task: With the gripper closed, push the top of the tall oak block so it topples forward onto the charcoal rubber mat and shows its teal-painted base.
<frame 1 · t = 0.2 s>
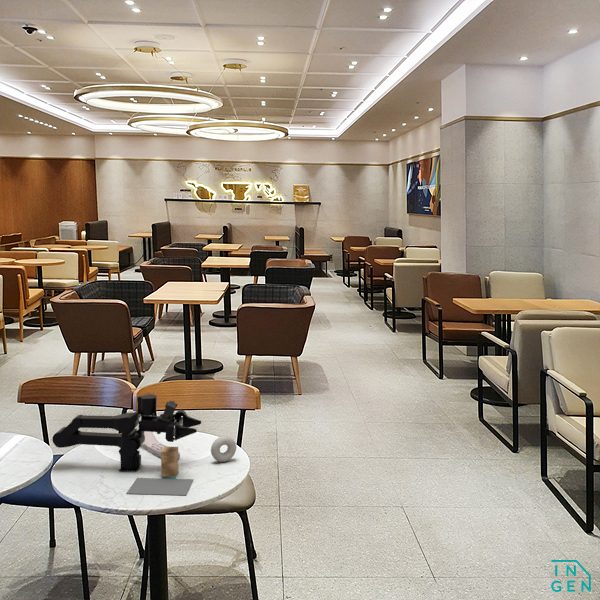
hand: (198, 426, 240), 16 cm above the table, tool horizontal, fingers open, 9 cm apart
oak block: (170, 476, 237), on the table
charcoal mat: (160, 486, 228), on the table
donut: (223, 462, 251), on the table
mobile phone: (160, 454, 259), on the table
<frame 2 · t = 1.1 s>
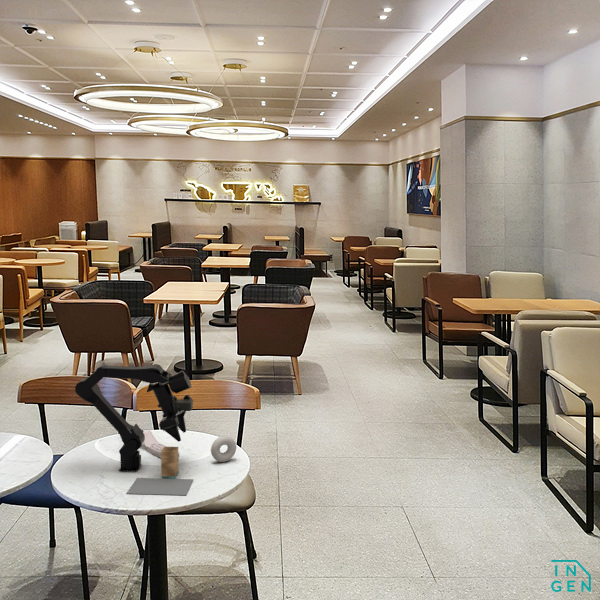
hand: (182, 436, 242), 12 cm above the table, tool tilted 25°, fingers open, 9 cm apart
nothing on the table moved.
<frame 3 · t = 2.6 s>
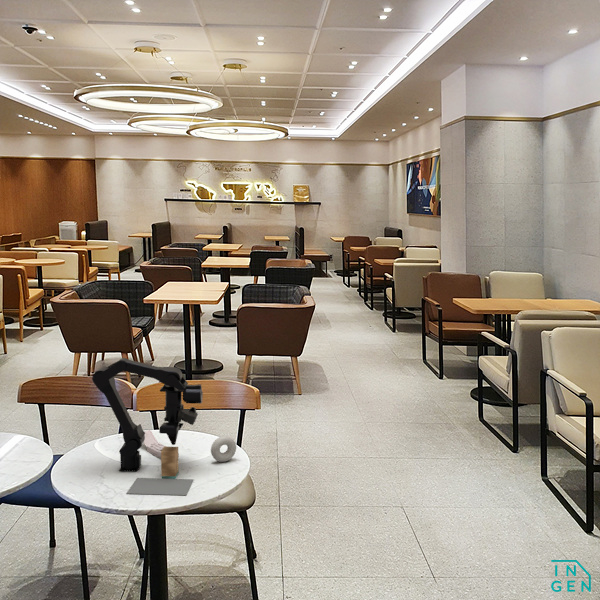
hand: (173, 444, 243), 9 cm above the table, tool pointing down, fingers closed
nothing on the table moved.
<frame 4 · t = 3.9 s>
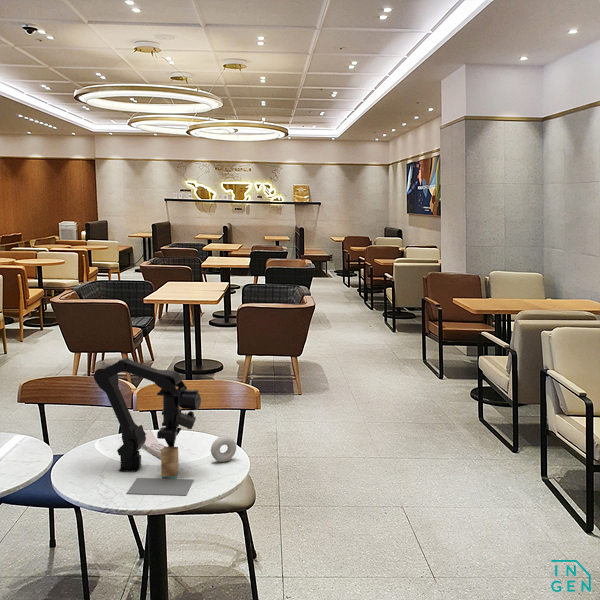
hand: (171, 449, 239), 9 cm above the table, tool pointing down, fingers closed
oak block: (170, 476, 237), on the table, touching gripper
everything else where it was.
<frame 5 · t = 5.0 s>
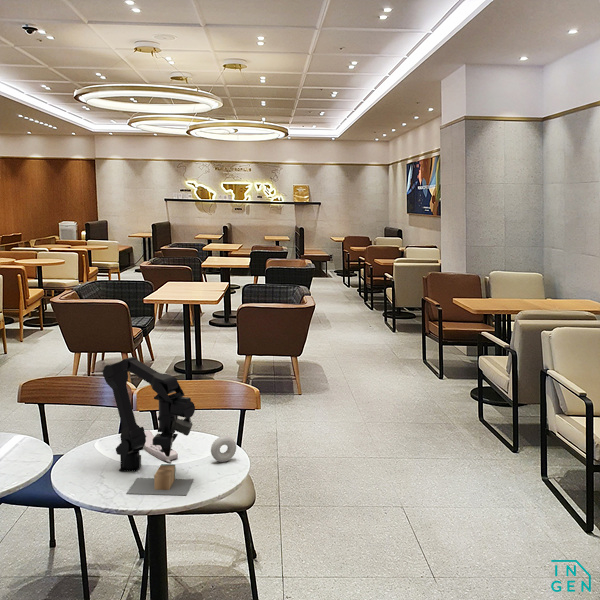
hand: (167, 456, 233), 9 cm above the table, tool pointing down, fingers closed
oak block: (168, 471, 234), point 3 cm above the table, tilted 90°, touching charcoal mat
everything else where it was.
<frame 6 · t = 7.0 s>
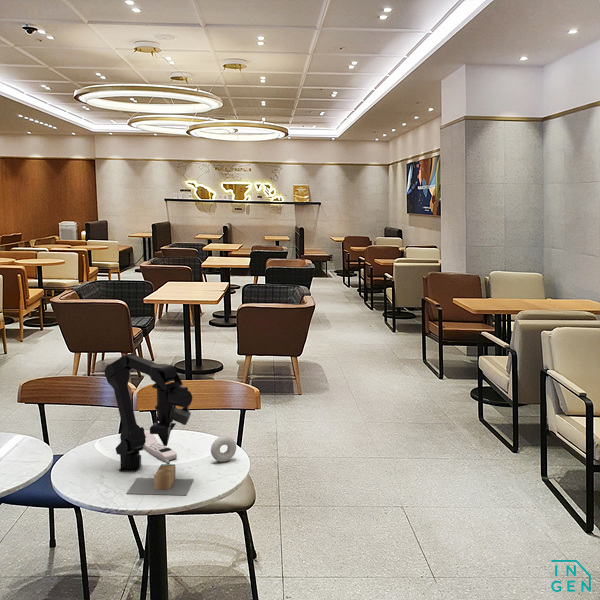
hand: (165, 445, 231), 13 cm above the table, tool pointing down, fingers closed
nothing on the table moved.
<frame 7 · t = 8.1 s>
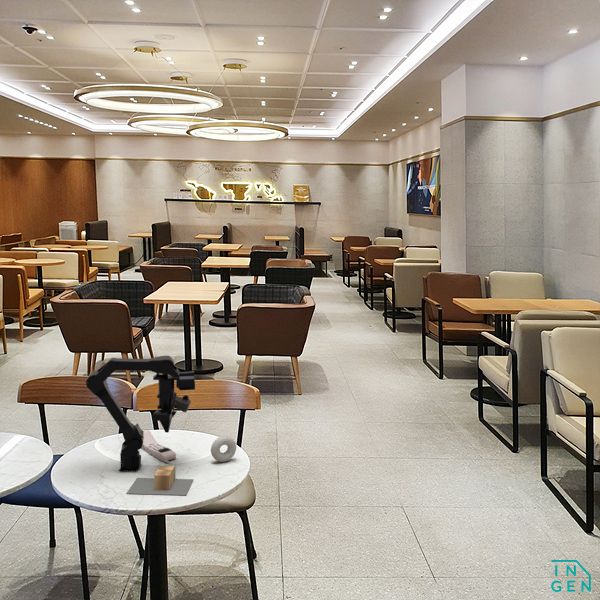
hand: (167, 432, 244), 13 cm above the table, tool pointing down, fingers closed
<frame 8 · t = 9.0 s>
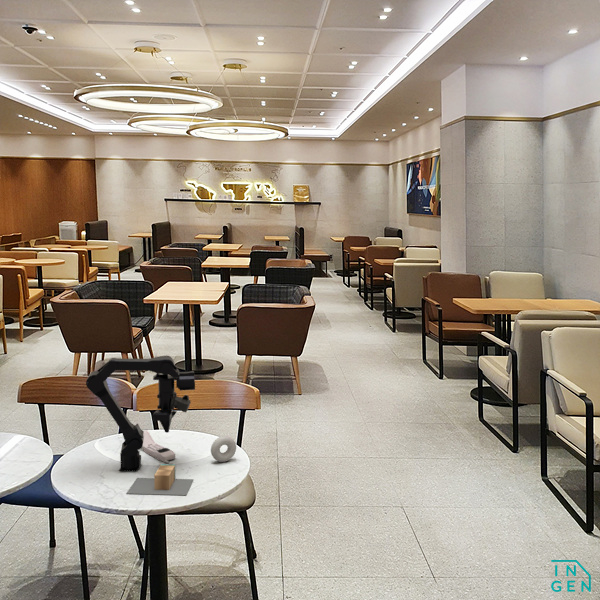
hand: (167, 432, 244), 13 cm above the table, tool pointing down, fingers closed
at the end: oak block tilted 90°; oak block touching charcoal mat; oak block inside the target area (0.6 cm from its centre), point 2.8 cm above the table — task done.
